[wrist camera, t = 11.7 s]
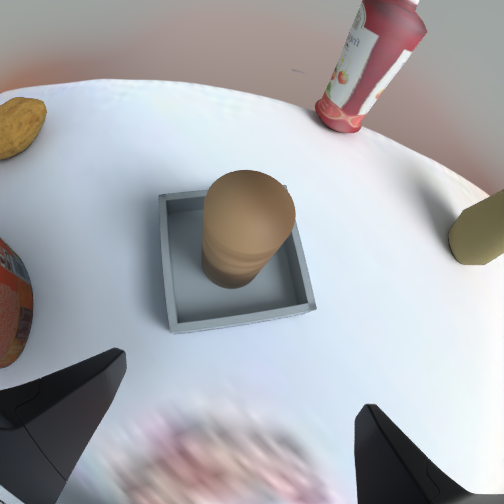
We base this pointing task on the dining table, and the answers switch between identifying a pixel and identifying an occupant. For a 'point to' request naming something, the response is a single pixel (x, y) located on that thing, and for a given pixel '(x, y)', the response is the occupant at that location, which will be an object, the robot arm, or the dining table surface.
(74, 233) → the dining table surface
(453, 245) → the squeeze bottle
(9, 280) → the food container
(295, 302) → the bin
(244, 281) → the walnut cylinder
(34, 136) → the potato
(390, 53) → the liquor
